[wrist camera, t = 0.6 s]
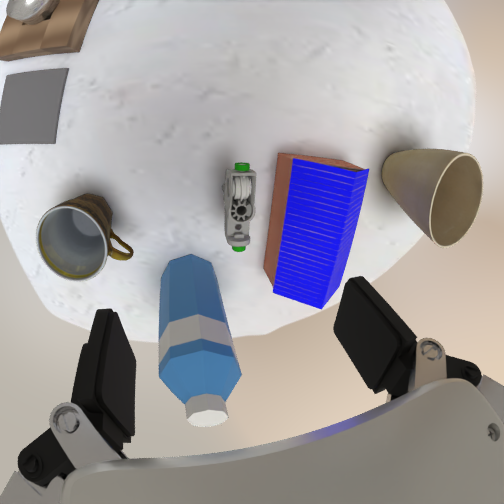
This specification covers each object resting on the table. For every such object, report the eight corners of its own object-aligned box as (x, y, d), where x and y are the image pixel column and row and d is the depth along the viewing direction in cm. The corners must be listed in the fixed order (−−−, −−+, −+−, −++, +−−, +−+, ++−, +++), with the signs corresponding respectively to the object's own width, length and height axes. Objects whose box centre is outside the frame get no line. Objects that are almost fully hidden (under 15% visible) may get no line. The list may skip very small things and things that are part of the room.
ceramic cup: (60, 236, 34) (35, 270, 26) (69, 175, 31) (38, 196, 22) (134, 256, 40) (124, 296, 31) (149, 196, 36) (139, 224, 27)
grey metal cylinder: (46, 1, 15) (18, -18, 7) (78, -4, 17) (54, -29, 9) (33, 34, 18) (-1, 21, 9) (64, 29, 20) (34, 11, 11)
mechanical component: (217, 220, 40) (228, 253, 32) (218, 152, 35) (230, 165, 27) (236, 219, 41) (252, 251, 32) (239, 152, 36) (258, 165, 28)
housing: (37, -14, 12) (25, -23, 8) (111, -27, 17) (105, -40, 13) (8, 61, 18) (-9, 59, 14) (79, 52, 23) (66, 45, 18)
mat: (8, 75, 19) (6, 75, 19) (68, 68, 23) (67, 68, 23) (-2, 143, 24) (-4, 144, 23) (55, 143, 28) (53, 144, 27)
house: (345, 158, 40) (391, 178, 30) (322, 265, 50) (354, 304, 40) (275, 150, 37) (310, 166, 27) (260, 269, 47) (283, 314, 37)
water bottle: (214, 301, 47) (245, 432, 26) (161, 300, 45) (164, 436, 23) (220, 255, 43) (263, 391, 22) (161, 252, 40) (156, 396, 19)
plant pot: (387, 116, 38) (460, 132, 24) (429, 159, 44) (490, 184, 30) (350, 189, 43) (415, 228, 29) (398, 220, 49) (453, 259, 35)
